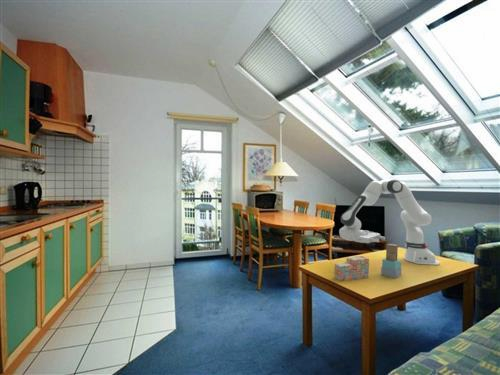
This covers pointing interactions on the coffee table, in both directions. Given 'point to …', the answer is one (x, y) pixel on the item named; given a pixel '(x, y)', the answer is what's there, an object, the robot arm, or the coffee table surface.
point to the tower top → (391, 264)
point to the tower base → (391, 272)
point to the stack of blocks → (352, 268)
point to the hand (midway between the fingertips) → (381, 239)
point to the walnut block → (391, 252)
